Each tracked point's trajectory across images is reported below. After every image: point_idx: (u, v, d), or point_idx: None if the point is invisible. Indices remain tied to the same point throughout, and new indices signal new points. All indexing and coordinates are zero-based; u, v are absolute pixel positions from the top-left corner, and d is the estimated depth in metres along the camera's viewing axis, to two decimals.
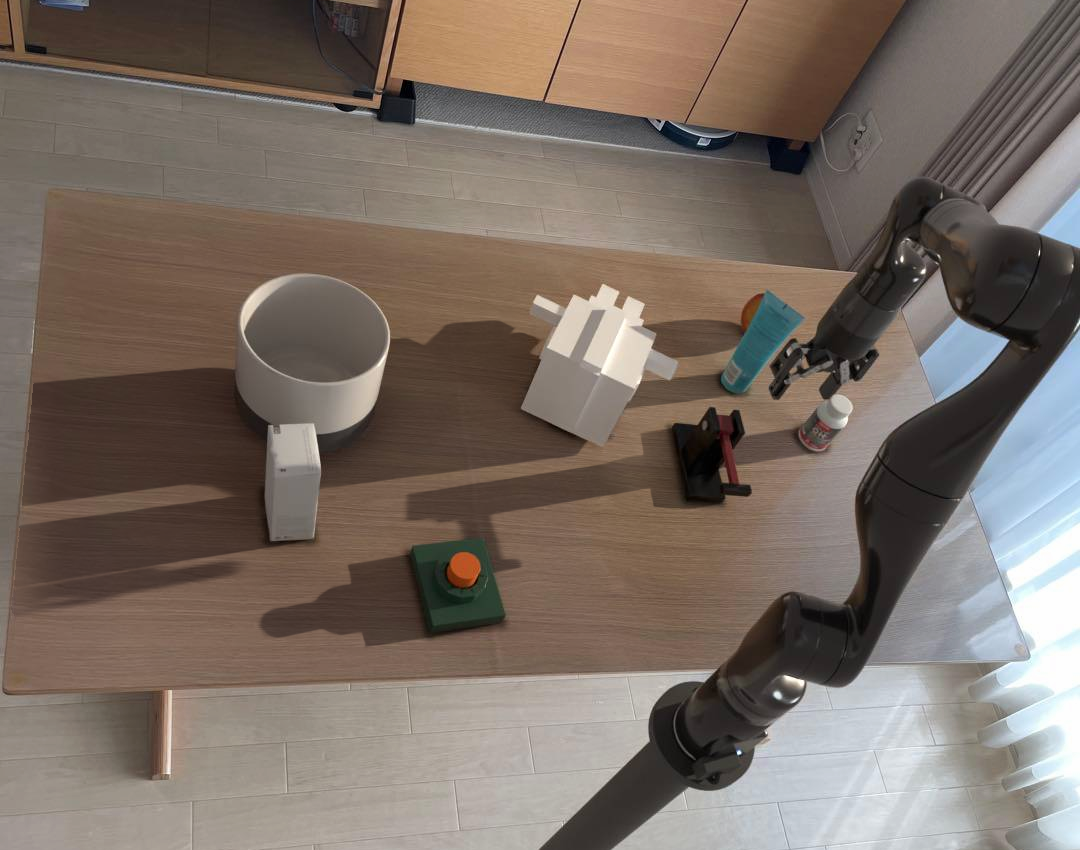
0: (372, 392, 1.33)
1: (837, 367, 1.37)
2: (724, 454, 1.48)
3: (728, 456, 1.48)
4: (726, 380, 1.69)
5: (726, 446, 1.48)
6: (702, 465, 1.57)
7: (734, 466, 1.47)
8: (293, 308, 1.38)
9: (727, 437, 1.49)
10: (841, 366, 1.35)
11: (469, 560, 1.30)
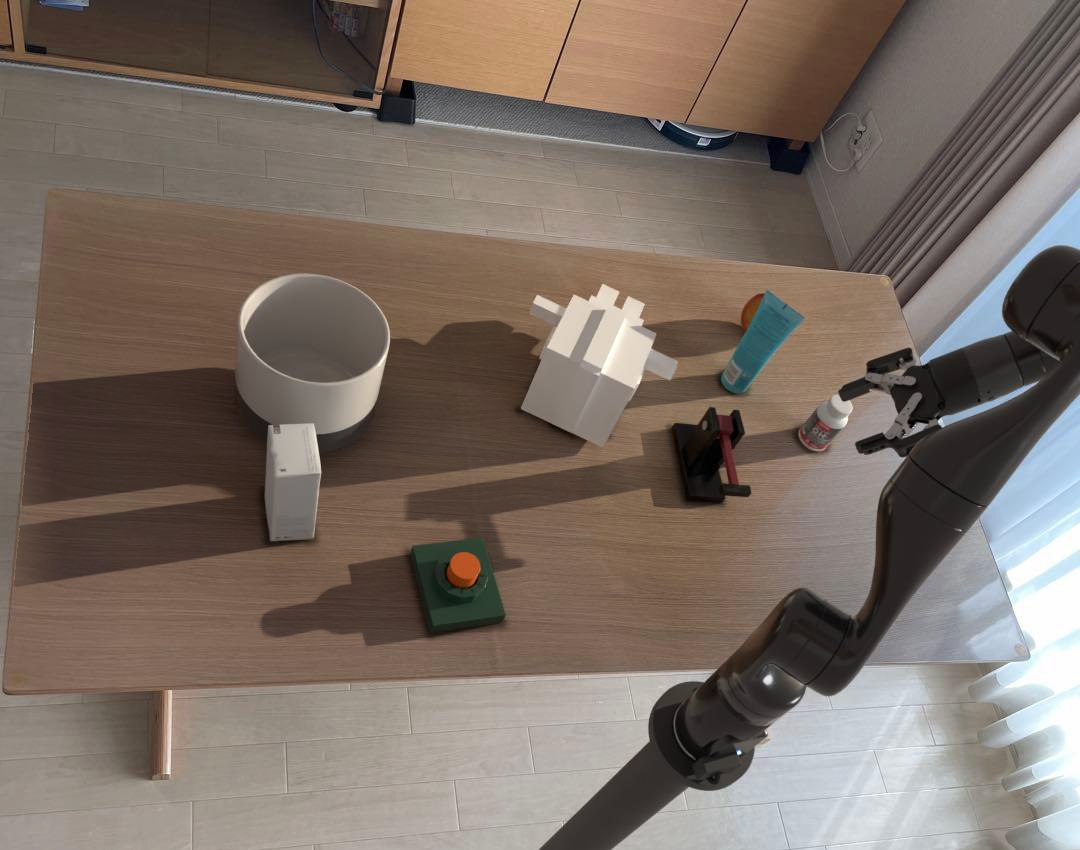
0: (372, 392, 1.33)
1: None
2: (724, 454, 1.48)
3: (728, 457, 1.48)
4: (726, 380, 1.69)
5: (726, 446, 1.49)
6: (702, 465, 1.57)
7: (733, 467, 1.47)
8: (293, 308, 1.38)
9: (727, 437, 1.49)
10: (912, 397, 1.26)
11: (469, 560, 1.30)
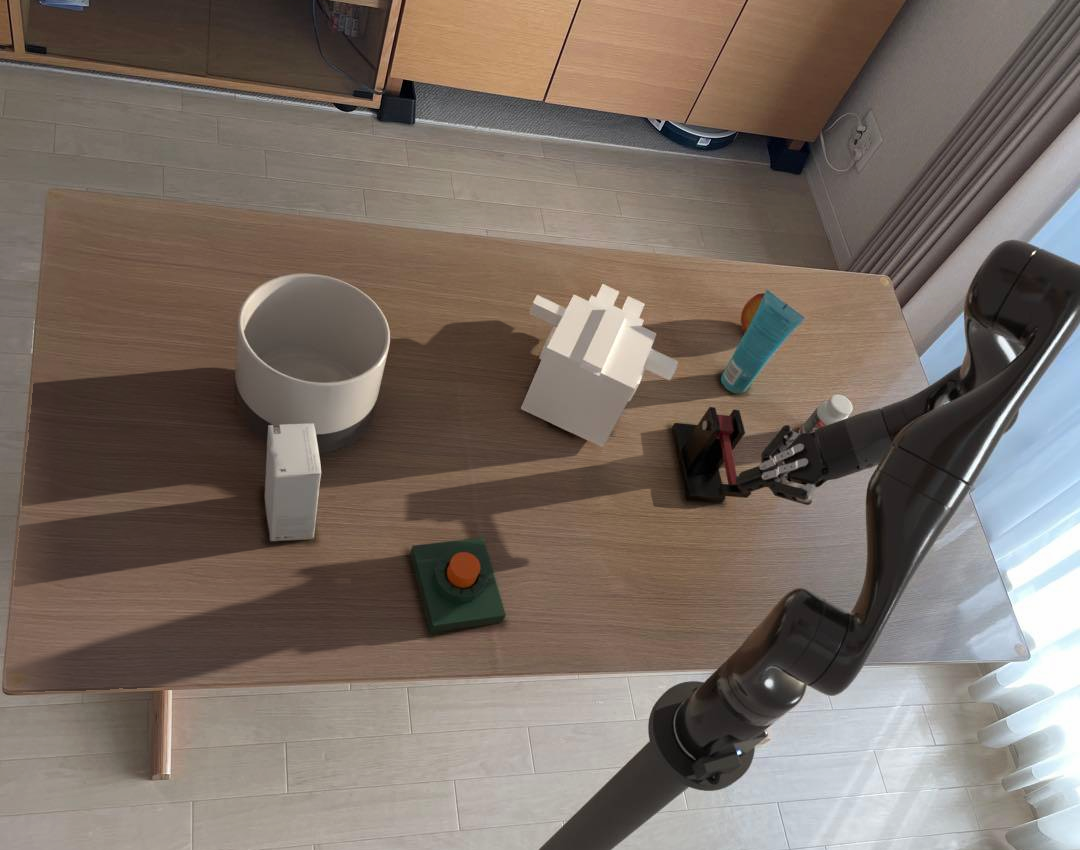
0: (372, 392, 1.33)
1: None
2: (724, 454, 1.49)
3: (727, 457, 1.48)
4: (726, 380, 1.69)
5: (726, 447, 1.49)
6: (702, 465, 1.57)
7: (733, 467, 1.47)
8: (293, 308, 1.38)
9: (727, 437, 1.49)
10: (801, 460, 1.39)
11: (469, 560, 1.30)
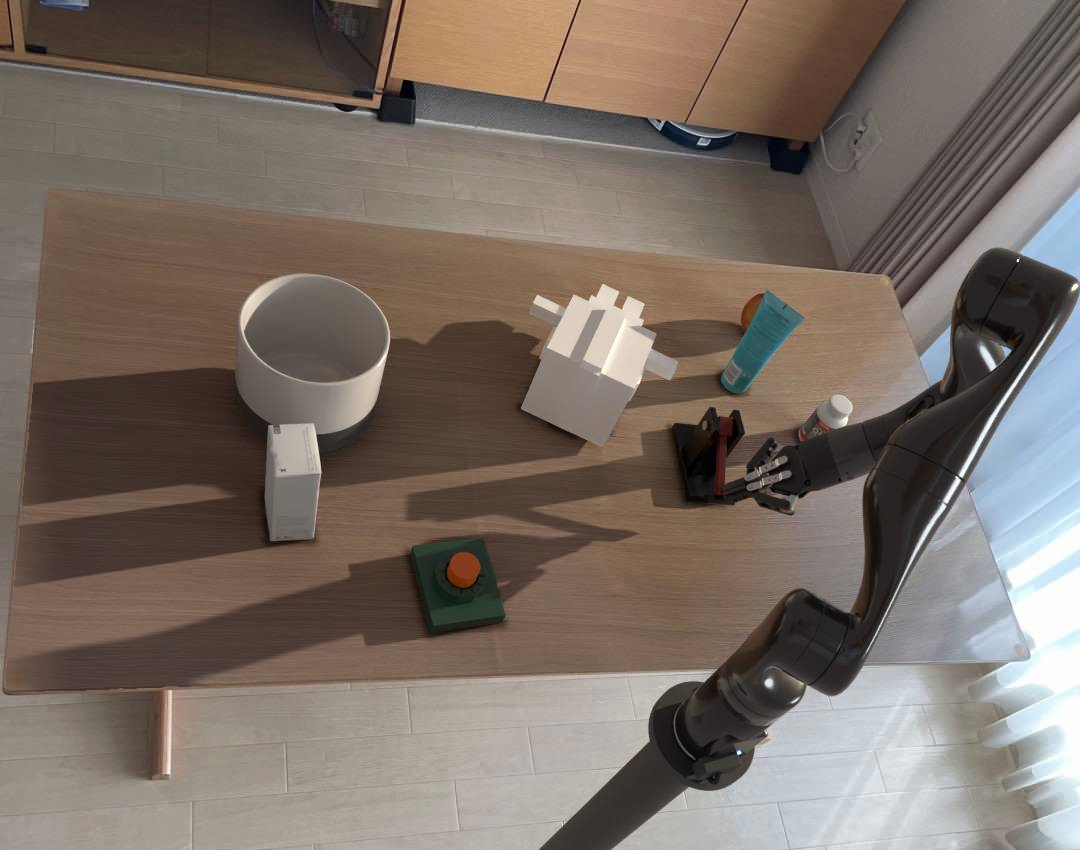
0: (372, 392, 1.33)
1: None
2: (717, 459, 1.50)
3: (720, 464, 1.50)
4: (726, 380, 1.69)
5: (721, 452, 1.50)
6: (702, 465, 1.57)
7: (723, 475, 1.50)
8: (293, 308, 1.38)
9: (724, 441, 1.50)
10: (784, 472, 1.43)
11: (469, 560, 1.30)
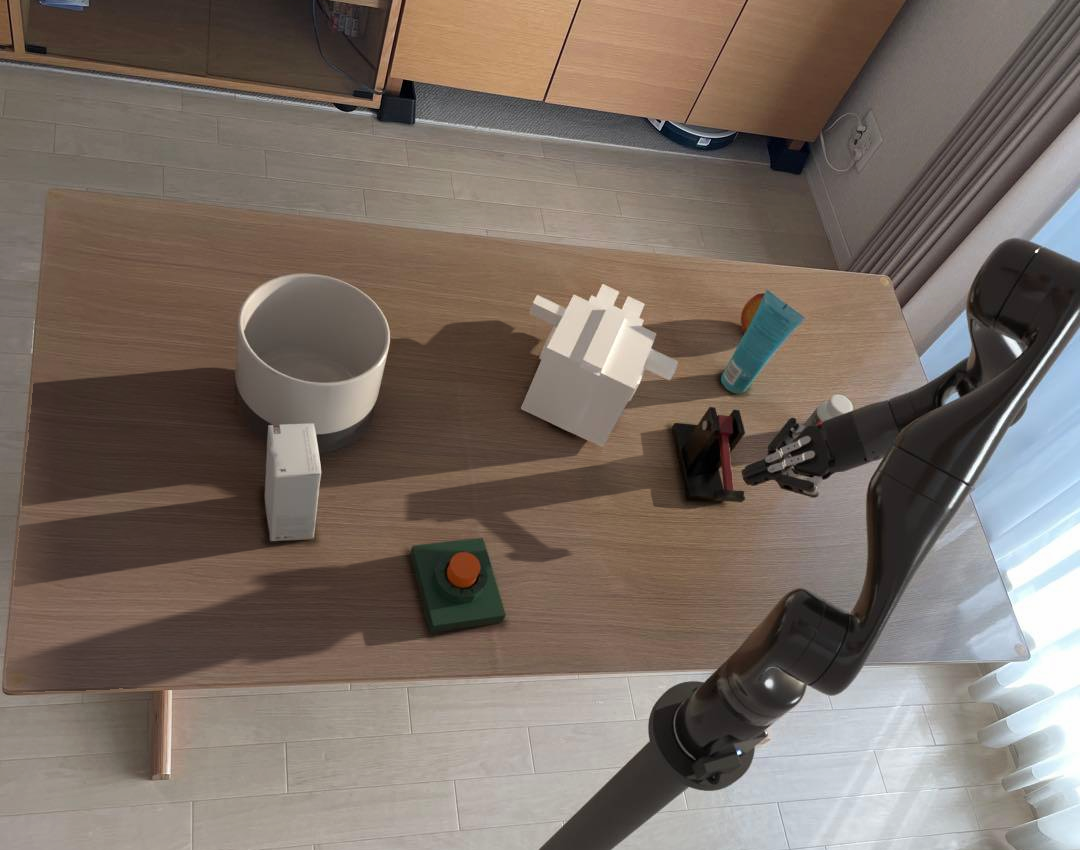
0: (372, 392, 1.33)
1: None
2: (721, 457, 1.49)
3: (725, 460, 1.48)
4: (726, 380, 1.69)
5: (724, 449, 1.49)
6: (702, 465, 1.57)
7: (729, 471, 1.48)
8: (293, 308, 1.38)
9: (726, 439, 1.50)
10: (807, 452, 1.38)
11: (469, 560, 1.30)
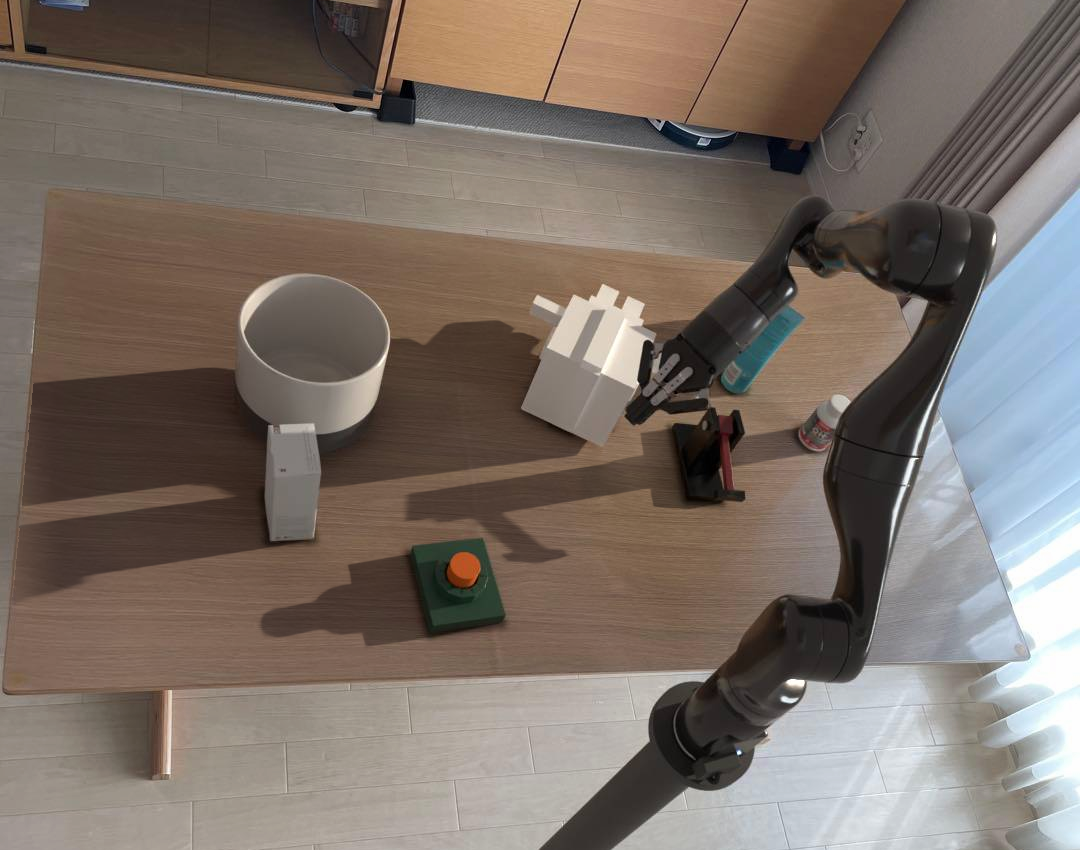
0: (372, 392, 1.33)
1: (676, 376, 1.32)
2: (721, 457, 1.49)
3: (725, 460, 1.48)
4: (726, 380, 1.69)
5: (724, 449, 1.49)
6: (702, 465, 1.57)
7: (730, 471, 1.48)
8: (293, 308, 1.38)
9: (726, 439, 1.50)
10: (684, 370, 1.31)
11: (469, 560, 1.30)
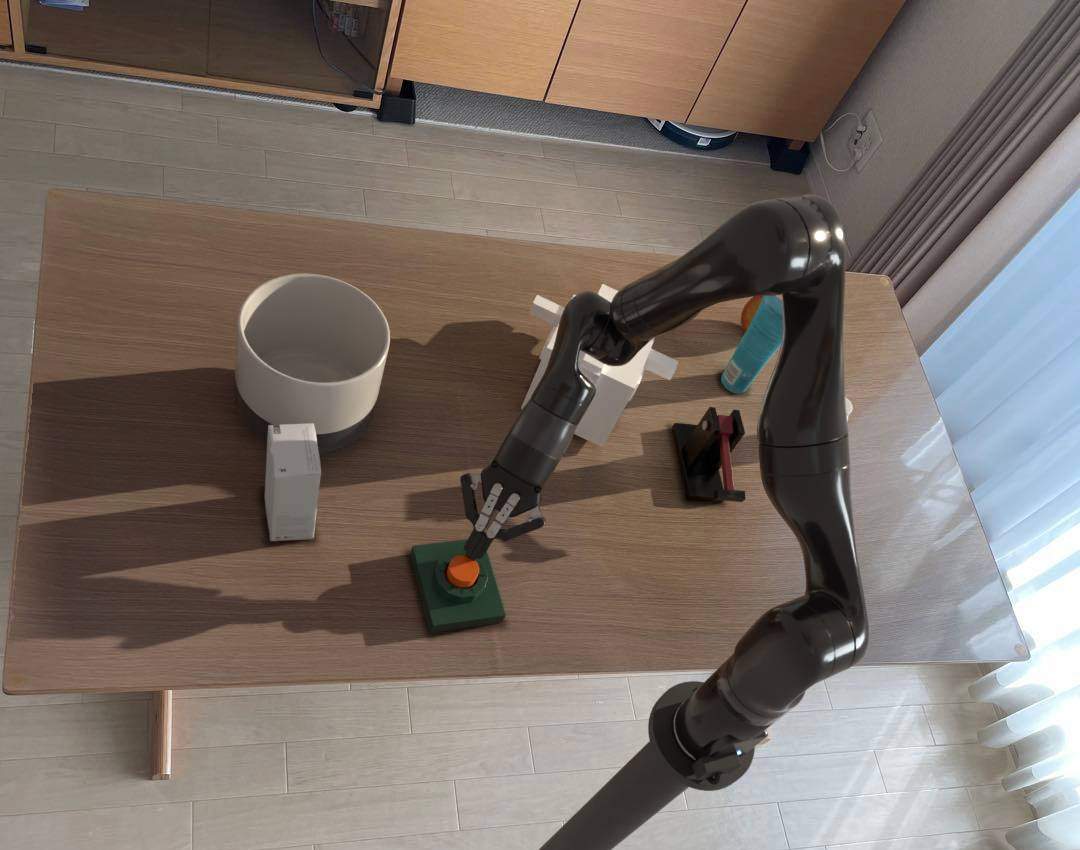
0: (372, 392, 1.33)
1: (504, 504, 1.29)
2: (721, 457, 1.49)
3: (725, 460, 1.48)
4: (726, 380, 1.69)
5: (724, 449, 1.49)
6: (702, 465, 1.57)
7: (730, 471, 1.48)
8: (293, 308, 1.38)
9: (726, 439, 1.50)
10: (510, 498, 1.28)
11: (468, 563, 1.31)
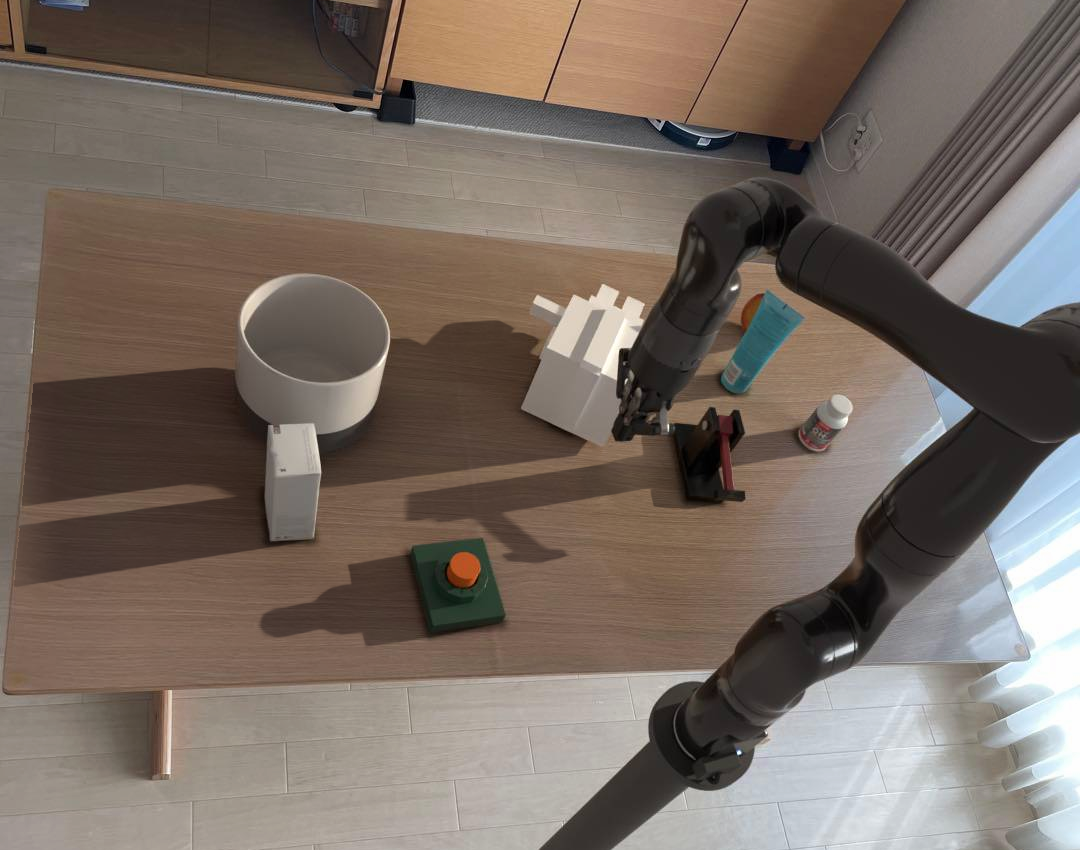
0: (372, 392, 1.33)
1: None
2: (721, 457, 1.49)
3: (725, 460, 1.48)
4: (726, 380, 1.69)
5: (724, 449, 1.49)
6: (702, 465, 1.57)
7: (730, 471, 1.48)
8: (293, 308, 1.38)
9: (726, 439, 1.50)
10: (636, 391, 1.12)
11: (469, 560, 1.30)
